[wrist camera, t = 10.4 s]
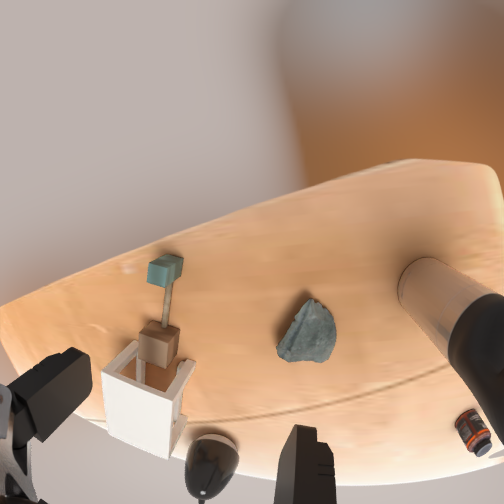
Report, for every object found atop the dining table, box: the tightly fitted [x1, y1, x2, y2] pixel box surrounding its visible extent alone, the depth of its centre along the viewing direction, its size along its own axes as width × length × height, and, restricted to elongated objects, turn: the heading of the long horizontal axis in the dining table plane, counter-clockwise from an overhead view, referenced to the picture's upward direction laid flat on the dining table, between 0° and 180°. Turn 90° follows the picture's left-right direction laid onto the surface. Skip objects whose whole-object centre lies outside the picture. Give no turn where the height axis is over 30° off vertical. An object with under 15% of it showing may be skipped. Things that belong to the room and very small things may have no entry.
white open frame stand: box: [101, 340, 196, 460], centre depth 44 cm, size 12×16×11 cm
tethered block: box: [138, 254, 183, 369], centre depth 42 cm, size 5×17×6 cm, turn 167°
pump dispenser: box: [185, 434, 239, 504], centre depth 43 cm, size 10×10×15 cm
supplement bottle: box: [455, 410, 492, 457], centre depth 37 cm, size 6×6×11 cm
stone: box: [276, 298, 336, 363], centre depth 41 cm, size 11×4×10 cm
